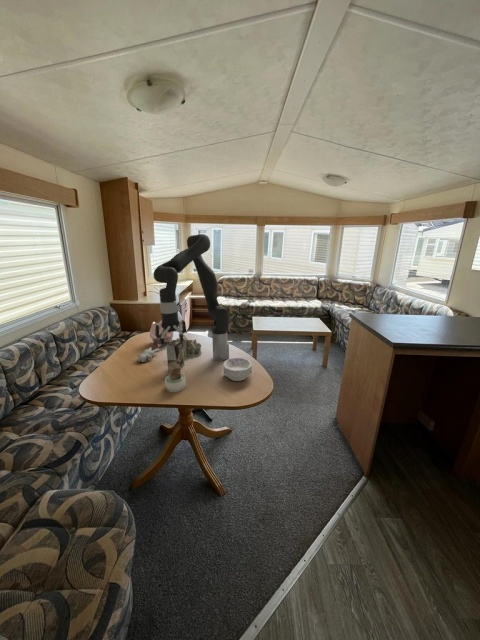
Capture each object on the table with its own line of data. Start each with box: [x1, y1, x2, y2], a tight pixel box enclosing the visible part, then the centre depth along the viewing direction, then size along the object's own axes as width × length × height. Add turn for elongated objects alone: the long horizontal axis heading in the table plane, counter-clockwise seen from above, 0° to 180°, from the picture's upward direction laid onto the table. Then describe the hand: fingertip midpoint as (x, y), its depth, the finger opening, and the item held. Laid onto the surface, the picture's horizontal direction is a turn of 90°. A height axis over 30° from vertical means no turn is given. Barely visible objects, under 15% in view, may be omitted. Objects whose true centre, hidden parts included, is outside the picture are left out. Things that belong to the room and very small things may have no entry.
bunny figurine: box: [137, 347, 160, 363], centre depth 164 cm, size 10×5×15 cm
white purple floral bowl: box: [223, 357, 253, 382], centre depth 140 cm, size 15×15×8 cm
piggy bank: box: [149, 319, 174, 348], centre depth 185 cm, size 15×18×16 cm
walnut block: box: [168, 364, 182, 381], centre depth 130 cm, size 4×4×6 cm
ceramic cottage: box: [175, 334, 203, 361], centre depth 166 cm, size 16×16×15 cm
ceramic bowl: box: [164, 373, 187, 393], centre depth 131 cm, size 10×10×5 cm
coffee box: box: [165, 339, 186, 372], centre depth 148 cm, size 9×6×16 cm
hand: (172, 343), depth 125 cm, fingers open, 8 cm apart
